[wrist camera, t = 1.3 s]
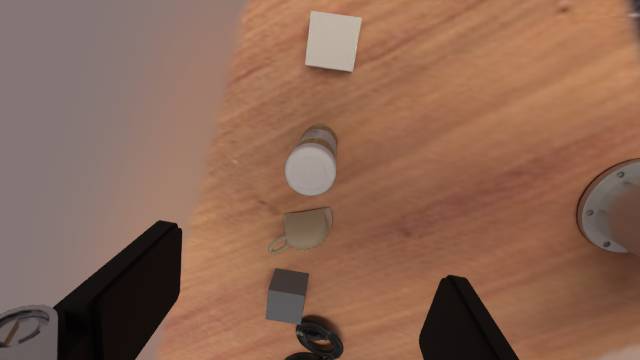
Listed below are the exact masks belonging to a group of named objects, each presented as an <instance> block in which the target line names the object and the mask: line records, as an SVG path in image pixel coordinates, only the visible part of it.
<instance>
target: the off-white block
mask: <svg viewBox="0 0 640 360" xmlns="http://www.w3.org/2000/svg"><path fill="white" fill-rule="evenodd" d="M361 19H362V18H358V17H351V16H344V15H337V14H331V13H324V12H317V11H311V18H310V26H309V35H308V44H307V53H306V61H305V65H308V66H312V67H319V68H326V69H332V70H339V71H346V72H353V68H354V62H355V56H356V49H357V43H358V37H359V31H360V25H361Z"/></svg>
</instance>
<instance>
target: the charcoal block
mask: <svg viewBox="0 0 640 360" xmlns="http://www.w3.org/2000/svg"><path fill="white" fill-rule="evenodd" d="M308 276H309V274H308V273H302V272H296V271H290V270H284V269H277V268H276V270H275V273H274V275H273V278H272V281H271V284H270V287H269V290H268V300H267V309H266V319H269V320H275V321H281V322H287V323H293V324H299V325H301V320H302V314H303V308H304V302H305V295H306V289H307V282H308Z"/></svg>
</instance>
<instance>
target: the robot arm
mask: <svg viewBox="0 0 640 360" xmlns="http://www.w3.org/2000/svg"><path fill="white" fill-rule="evenodd" d="M577 218H578V225H579V227H580V230H581V232H582V233H583V235H584V236H585V237H586V238H587V239H588V240H589V241H590V242H592V243H593V244H595V245H596V246H598V247H600V248H602V249H604V250H607V251H611V252H617V253H629V252H632V253H633V254H635V255H637V256H638V257H640V159H635V160H630V161H627V162H624V163H621V164H619V165H617V166H615V167H613V168H611V169H609V170H607V171H606V172H604V173H603V174H602V175H600V176H599V177H598V178H597V179H596V180H595V181H594V182H593V183H592V184H591V185H590V186H589V187H588V189H587V190H586V191H585V193H584V195H583V197H582V199H581V201H580V204H579V207H578V215H577ZM181 251H182V229H181V228H178V225H177V224H176V223H172V222H166V221H161V220H159V221H157V222H156V223H155V224H154V225H153V226H151V227H150V228H149V229H148V230H146V231H145V232H144V233H143V234H142V235H140V236H139V237H138V238H137V239H135V240H134V241H133V242H132V243H131V244H129V245H128V246H127V247H126V248H125V249H123V250H122V251H121V252H120V253H119V254H117V255H116V256H115V257H114V258H112V259H111V260H110V261H109V262H107V263H106V264H105V265H104V266H103V267H101V268H100V269H99V270H98V271H97V272H95V273H94V274H93V275H92V276H91V277H89V278H88V279H87V280H86V281H84V282H83V283H82V284H81V285H80V286H78V287H77V288H76V289H75V290H74V291H72V292H71V293H70V294H69V295H67V296H66V297H65V298H64V299H63V300H61V301H60V302H59V303H58V304H57V305H55V306H54V307H53V308H51V307H49V306H45V305H29V306H22V307H18V308H15V309H12V310H8V311H6V312H4V313H2V314H0V360H135V359H136V357H137V356H138V355H139V353H140V352H141V350H142V349H143V347H144V346H145V345H146V343H147V342H148V340H149V339H150V338H151V336H152V335H153V333H154V332H155V330H156V329H157V328H158V326H159V325H160V323H161V322H162V321H163V319H164V318H165V316H166V315H167V313H168V312H169V311H170V309H171V308H172V306H173V305H174V303H175V302H176V300H177V299H178V296H179V293H180V277H181ZM419 345H420V349H421V352H422V355H423V358H424V360H519V359H518V357H517V355H516V354H515V352H514V351H513V349H512V348H511V346H510V345H509V343H508V342H507V340H506V338H505V337H504V335H503V334H502V332H501V331H500V329H499V328H498V326H497V324H496V323H495V321H494V320H493V318H492V317H491V315H490V314H489V312H488V311H487V309H486V307H485V306H484V304H483V303H482V301H481V300H480V298H479V297H478V295H477V293H476V292H475V290H474V289H473V287H472V286H471V284H470V283H469V281H468V280H467V279H466V278H464V277H459V276H453V275H448V276H447V277H446V278H442V279H441V281H440V283H439V286H438V289H437V291H436V294H435V296H434V299H433V302H432V304H431V307H430V309H429V312H428V315H427V317H426V320H425V322H424V325H423V328H422V330H421V333H420V336H419Z"/></svg>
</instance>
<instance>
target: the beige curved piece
mask: <svg viewBox="0 0 640 360" xmlns="http://www.w3.org/2000/svg"><path fill="white" fill-rule="evenodd" d="M283 222H284V234H285V235H282V236H280V237H278V238H277V239H275V240H274V241H273V242H272V243H271V244H270V246H269V248H268V251H269V253H271V254H278V253H280V252H282V251H284V250H285V249H287V248H288V247H289V246H291V247H292V248H296V249H297V250H299V249H303V250H304V251H305V250H306V249H308V248H309V249H312V248H313V247H315V248H316V246H318V245H321V243H322V242H323V241H325V239H326V237H327V235H328V232H329V228H330V227H331V225H332V214H331V210H330V207H327V208H322V209H316V210H311V211H305V212H297V213H285V214H283ZM282 240H286V242H287V243H286V244H285V245H284V246H282V247H281V248H279V249H277V250H272V249H273V247H274V246H275V245H276V244H277V243H278V242H280V241H282Z"/></svg>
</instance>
